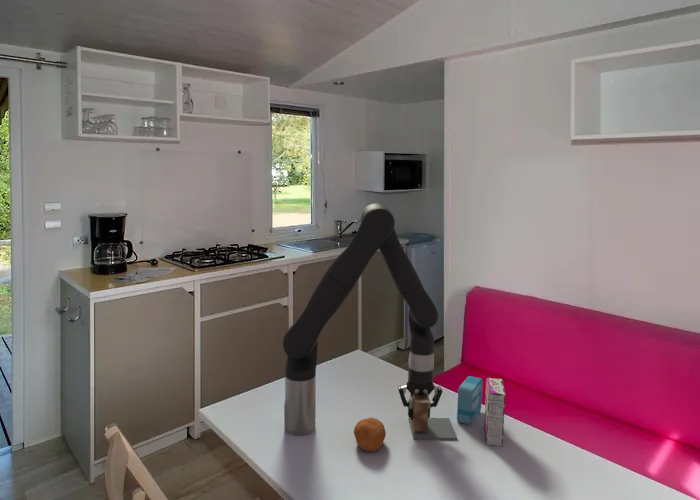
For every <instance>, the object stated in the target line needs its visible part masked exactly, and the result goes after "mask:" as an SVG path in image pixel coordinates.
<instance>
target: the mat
mask: <svg viewBox="0 0 700 500" xmlns="http://www.w3.org/2000/svg"><path fill="white" fill-rule="evenodd" d="M408 423H409V428H410V433H411V435H412V438H413V440H420V441H421V440H425V441H426V440H427V441H429V440H430V441H433V440H435V441H436V440H438V441H441V440H442V441H449V440H450V441H451V440H452V441H457V440H458V436H457V433H456V432H455V431H456V430H455V429H454V427H453V424H452V422H451V420H450V418H449V417H429V418H428V428H427V431H414V429H413V425H412V422H411V419H410V418H409V417H408Z"/></svg>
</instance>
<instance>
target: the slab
mask: <svg viewBox="0 0 700 500" xmlns="http://www.w3.org/2000/svg"><path fill="white" fill-rule="evenodd" d="M429 400H430V398H429V399H428V396H424V395H417V396H414V403H413V420H411V422H412V425H413V429H414V431H427V428H428V407H429Z"/></svg>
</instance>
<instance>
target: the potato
mask: <svg viewBox="0 0 700 500" xmlns="http://www.w3.org/2000/svg"><path fill="white" fill-rule="evenodd" d="M386 434H387V432H386V428H385V426H384V424H383V422H382V421H381V420H379V419H377V418H375V417H369V418H368V417H367V418H364V419H360V420H359V421H358V422H357V423H356V424H355V426H354V428H353V436H354V438H355V442H356V443H357V445H358V446H359V447H360V449H362V450H364V451H367V452H376V451H377V450H378V449H379V448H381V447H382V445H383V444H384V441H385V438H386Z"/></svg>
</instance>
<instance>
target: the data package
mask: <svg viewBox="0 0 700 500" xmlns="http://www.w3.org/2000/svg"><path fill="white" fill-rule="evenodd" d="M483 383H484V381H483V378H482V377H481V378H480V377H475V376H471V375H469V376H467V377H466V379H464V381H463V382H462V383H461V384H460V385H459V387H458V392H457V412H456V421H457V422H458V423H462V424H465V425H469V426H471V425H473V424H474V422H475V421H476V419H477V417H479V414H480V413H481V410H482V399H483V387H484V386H483V385H484V384H483Z"/></svg>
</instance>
